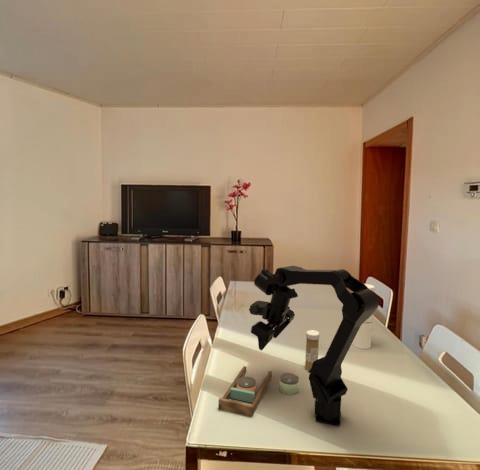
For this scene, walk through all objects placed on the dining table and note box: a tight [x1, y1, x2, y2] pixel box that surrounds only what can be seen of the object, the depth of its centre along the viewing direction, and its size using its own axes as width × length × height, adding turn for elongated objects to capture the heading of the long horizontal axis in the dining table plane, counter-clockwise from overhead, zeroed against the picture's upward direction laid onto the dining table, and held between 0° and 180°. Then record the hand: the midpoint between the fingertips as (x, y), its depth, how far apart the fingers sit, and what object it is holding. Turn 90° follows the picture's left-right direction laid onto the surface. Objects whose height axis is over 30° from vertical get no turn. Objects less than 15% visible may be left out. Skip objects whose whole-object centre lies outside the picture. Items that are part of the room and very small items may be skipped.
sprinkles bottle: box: [304, 329, 320, 371], centre depth 124 cm, size 5×5×13 cm
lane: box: [218, 365, 273, 418], centre depth 110 cm, size 10×23×3 cm, turn 162°
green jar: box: [278, 372, 300, 396], centre depth 111 cm, size 6×6×4 cm
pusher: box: [229, 387, 256, 404], centre depth 105 cm, size 7×1×3 cm, turn 71°
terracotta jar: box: [236, 375, 257, 396], centre depth 109 cm, size 6×6×4 cm
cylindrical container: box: [352, 283, 375, 350], centre depth 143 cm, size 7×7×25 cm
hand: (267, 343), depth 116 cm, fingers open, 9 cm apart
